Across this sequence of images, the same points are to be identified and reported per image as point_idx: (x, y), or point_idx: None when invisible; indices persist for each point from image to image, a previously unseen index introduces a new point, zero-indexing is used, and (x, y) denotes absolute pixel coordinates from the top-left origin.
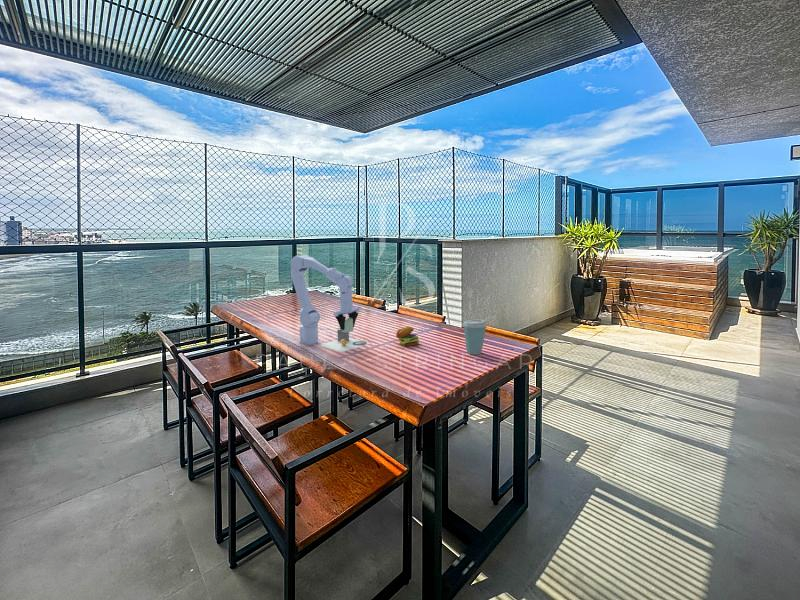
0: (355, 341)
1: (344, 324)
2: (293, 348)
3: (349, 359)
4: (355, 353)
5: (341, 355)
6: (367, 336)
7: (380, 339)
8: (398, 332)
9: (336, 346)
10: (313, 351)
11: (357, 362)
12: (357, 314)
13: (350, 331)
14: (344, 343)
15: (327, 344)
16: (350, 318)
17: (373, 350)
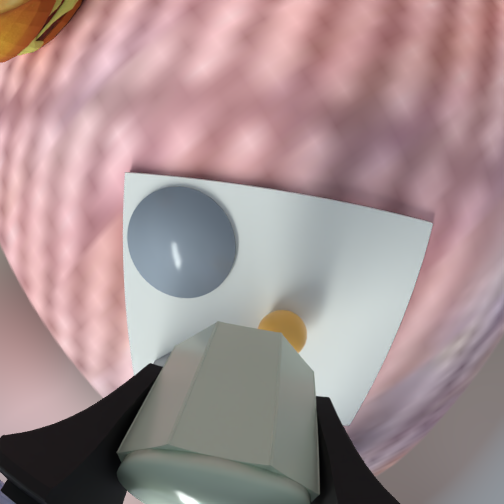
0: (161, 301)
1: (329, 446)
2: (403, 453)
3: (491, 104)
4: (393, 126)
5: (463, 196)
6: (50, 301)
7: (39, 195)
8: (22, 5)
9: (333, 342)
10: (434, 382)
11: (493, 42)
12: (11, 451)
13: (263, 333)
14: (297, 315)
15: None
16: (157, 485)
17: (256, 47)
